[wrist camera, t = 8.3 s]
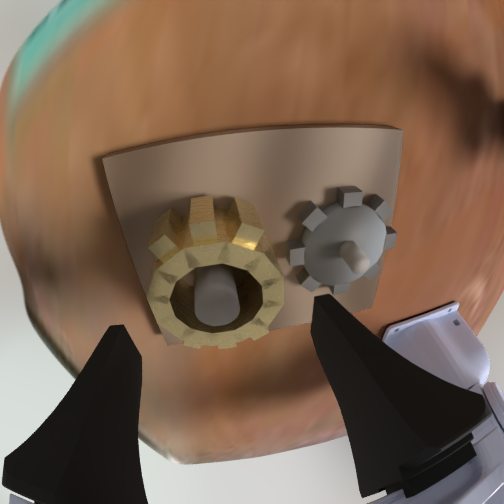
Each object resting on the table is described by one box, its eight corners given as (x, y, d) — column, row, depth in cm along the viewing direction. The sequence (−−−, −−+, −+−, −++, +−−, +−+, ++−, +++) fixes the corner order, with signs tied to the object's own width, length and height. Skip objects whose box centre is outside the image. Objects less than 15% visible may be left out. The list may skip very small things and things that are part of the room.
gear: (265, 185, 12) (283, 214, 10) (271, 303, 16) (283, 342, 14) (139, 205, 12) (124, 239, 9) (175, 317, 16) (173, 359, 13)
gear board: (391, 126, 12) (451, 149, 9) (365, 298, 19) (394, 344, 15) (109, 153, 11) (68, 187, 7) (168, 333, 18) (165, 391, 14)
